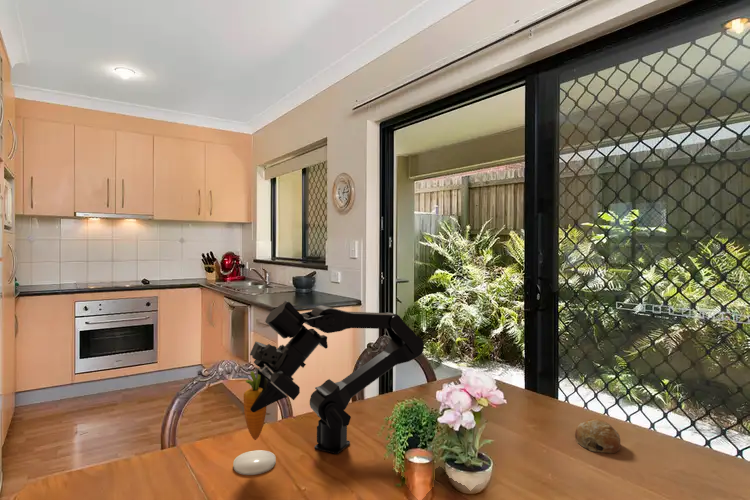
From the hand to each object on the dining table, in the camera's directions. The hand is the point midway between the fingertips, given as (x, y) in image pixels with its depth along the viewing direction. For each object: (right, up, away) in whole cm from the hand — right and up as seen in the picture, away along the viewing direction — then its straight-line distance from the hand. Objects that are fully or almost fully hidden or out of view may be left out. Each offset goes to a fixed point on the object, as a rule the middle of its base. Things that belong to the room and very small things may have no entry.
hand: (249, 407), depth 97 cm
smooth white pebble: (+1, -13, +1) cm, 13 cm away
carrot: (+1, -8, +1) cm, 8 cm away
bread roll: (+83, -14, +12) cm, 85 cm away
